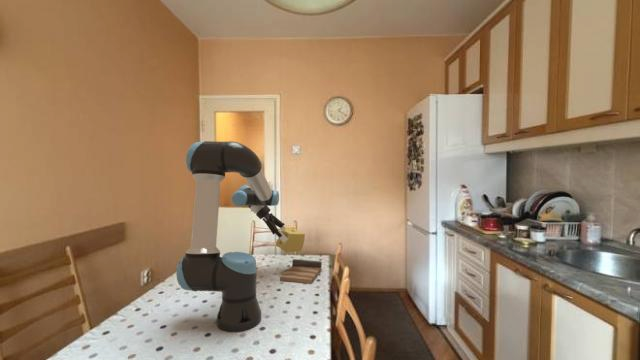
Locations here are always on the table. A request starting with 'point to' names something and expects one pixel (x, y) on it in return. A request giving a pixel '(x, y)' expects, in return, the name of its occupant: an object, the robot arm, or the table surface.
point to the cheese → (291, 240)
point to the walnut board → (302, 271)
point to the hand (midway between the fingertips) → (288, 238)
